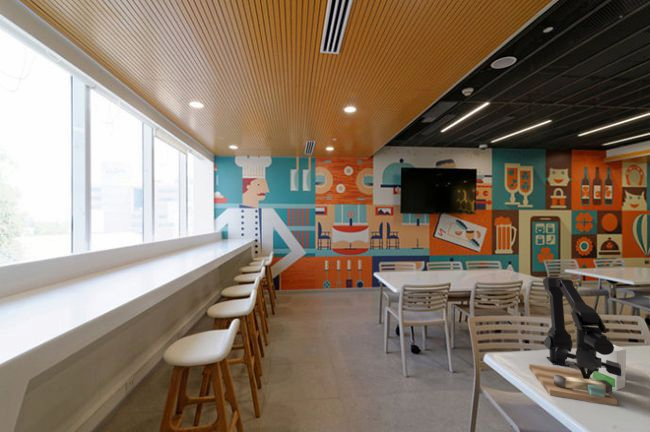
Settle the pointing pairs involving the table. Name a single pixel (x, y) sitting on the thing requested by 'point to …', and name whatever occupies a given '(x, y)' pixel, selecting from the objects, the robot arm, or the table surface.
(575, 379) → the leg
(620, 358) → the skincare box
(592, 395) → the tan wooden flat tray
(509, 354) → the table surface
